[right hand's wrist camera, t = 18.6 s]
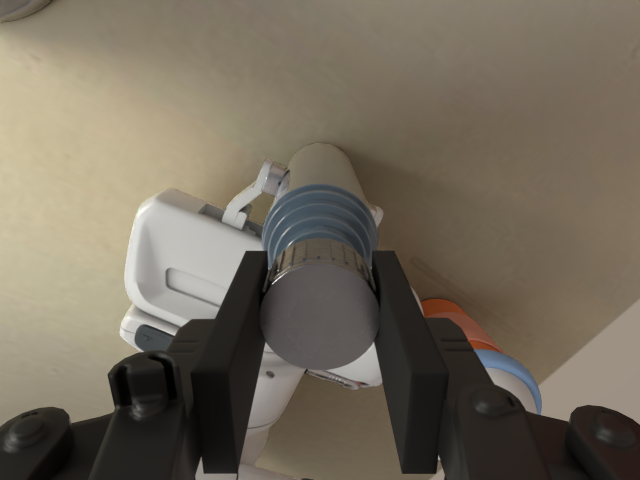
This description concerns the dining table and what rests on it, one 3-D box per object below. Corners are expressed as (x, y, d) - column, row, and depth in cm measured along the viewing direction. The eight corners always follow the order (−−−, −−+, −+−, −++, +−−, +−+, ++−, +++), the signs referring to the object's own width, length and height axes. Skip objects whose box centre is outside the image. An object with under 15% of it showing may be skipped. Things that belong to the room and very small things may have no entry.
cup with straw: (501, 336, 37) (651, 541, 20) (416, 384, 39) (489, 608, 22) (451, 263, 35) (574, 427, 18) (363, 318, 37) (400, 514, 20)
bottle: (273, 188, 33) (206, 334, 13) (308, 129, 31) (288, 197, 12) (330, 221, 34) (345, 403, 14) (366, 165, 32) (438, 285, 13)
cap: (387, 313, 15) (398, 350, 13) (290, 346, 15) (285, 386, 13) (352, 220, 14) (358, 244, 12) (248, 258, 14) (235, 287, 12)
